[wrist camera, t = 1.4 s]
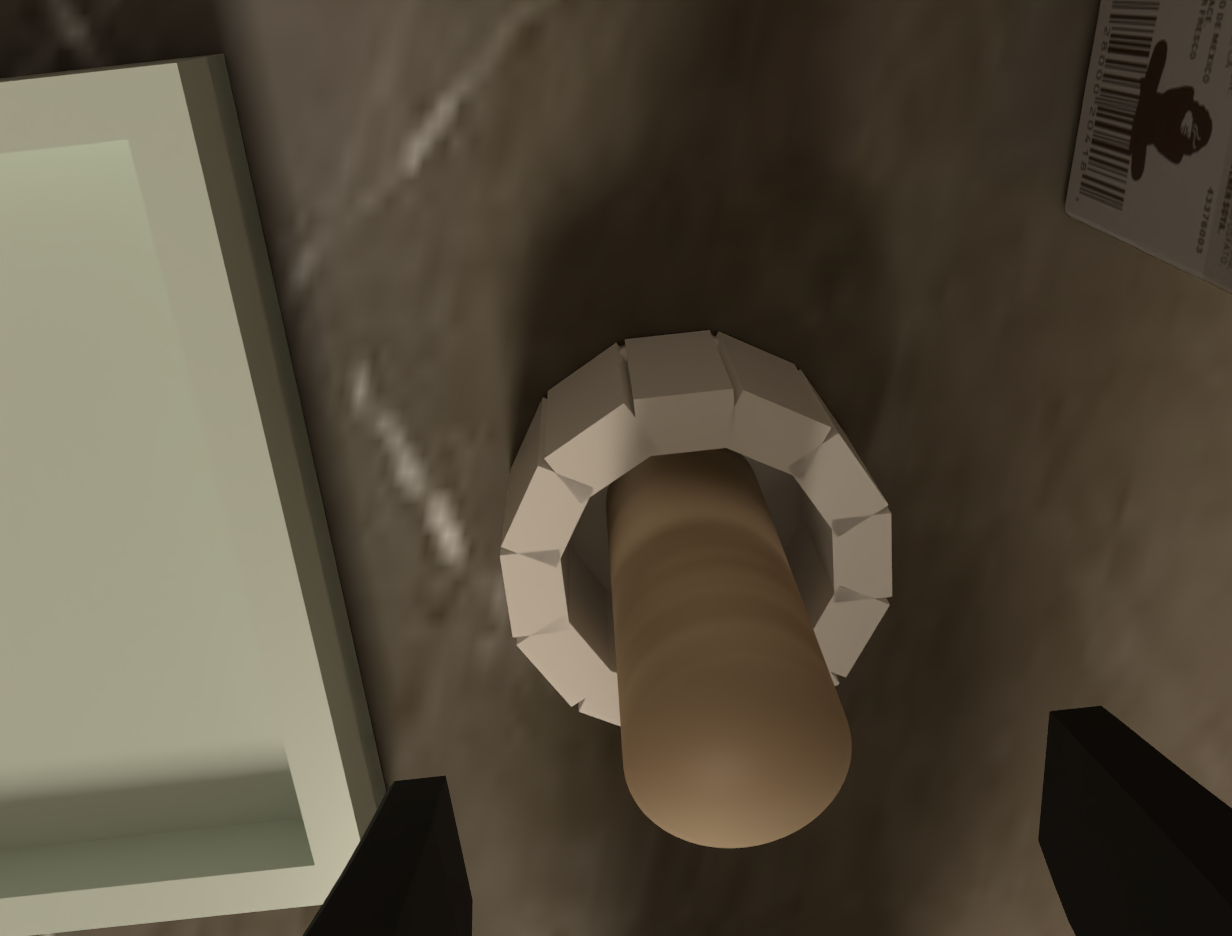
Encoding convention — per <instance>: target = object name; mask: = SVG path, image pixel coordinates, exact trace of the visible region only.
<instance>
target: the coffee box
mask: <svg viewBox="0 0 1232 936" xmlns="http://www.w3.org/2000/svg"><path fill="white" fill-rule="evenodd" d="M1065 211H1066V213H1067V215H1068V216H1069V217H1071V218H1072V219H1075V220H1078V221H1080V222H1082V223H1084V224H1086V225H1088V226H1090V227H1092V228H1094V229H1096V230H1098V231H1101V232H1104V233H1106V234H1108V235H1110V236H1112V237H1114V238H1116V239H1118V240H1120V241H1122V242H1124V243H1126V244H1128V245H1130V246H1132V247H1135V248H1137V249H1139V250H1140V251H1142V252H1144V253H1146V254H1148V255H1150V256H1152V257H1154V258H1157V259H1159V260H1161V261H1163V262H1164V263H1167V264H1169V265H1172V266H1173V267H1175V268H1177V269H1179V270H1181V271H1184V272H1186V273H1188V274H1190V275H1193V276H1195V277H1197V278H1200V279H1202V280H1204V281H1206V282H1208V283H1211V284H1213V285H1215V286H1217V287H1219V288H1220V289H1222V290H1224V291H1226V292H1228V293H1230V294H1232V0H1101V3H1100V9H1099V15H1098V20H1097V26H1096V32H1095V38H1094V43H1093V48H1092V54H1091V59H1090V64H1089V70H1088V75H1087V80H1086V86H1085V92H1084V98H1083V104H1082V110H1081V116H1080V122H1079V128H1078V133H1077V139H1076V145H1075V151H1074V156H1073V162H1072V168H1071V174H1070V180H1069V185H1068V191H1067V197H1066V203H1065Z"/></svg>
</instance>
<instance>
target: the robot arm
mask: <svg viewBox="0 0 1232 936" xmlns="http://www.w3.org/2000/svg"><path fill="white" fill-rule="evenodd" d="M1038 841H1039V843H1040V846H1041V849H1042V852H1043V854H1044V857H1045V860H1046V863H1047V866H1048V868H1049V871H1050V874H1051V877H1052V879H1053V882H1054V885H1055V888H1056V890H1057V893H1058V895H1059V898H1060V900H1061V903H1062V905H1063V908H1064V911H1065V913H1066V916H1067V918H1068V921H1069V923H1070V925H1071V927H1072V929H1073V931H1074V933H1075V935H1076V936H1232V808H1230V807H1229V806H1228V805H1226V804H1225V803H1224V802H1223V801H1221V800H1220V799H1219V798H1217V797H1216V796H1215V795H1213V794H1212V793H1211V792H1209V791H1208V790H1207V789H1206V788H1204V787H1203V786H1202V785H1200V784H1199V783H1198V782H1197V781H1195V780H1194V779H1193V778H1191V777H1190V776H1189V775H1188V774H1186V773H1185V772H1184V771H1183V770H1181V769H1180V768H1179V767H1177V766H1176V765H1175V764H1174V763H1172V762H1171V761H1170V760H1169V759H1167V758H1166V757H1165V756H1164V755H1162V754H1161V753H1160V752H1159V751H1157V750H1156V749H1155V748H1154V747H1152V746H1151V745H1150V744H1149V743H1147V742H1146V741H1145V740H1144V739H1142V738H1141V737H1140V736H1139V735H1137V734H1136V733H1135V732H1134V731H1133V730H1131V729H1130V728H1129V727H1128V726H1126V725H1125V724H1124V723H1123V722H1121V721H1120V720H1119V719H1117V718H1116V717H1115V716H1114V715H1112V714H1111V713H1110V712H1109V711H1107V710H1106V709H1105V708H1103V707H1102V706H1095V707H1086V708H1076V709H1067V710H1057V711H1050V714H1049V725H1048V736H1047V748H1046V759H1045V771H1044V782H1043V793H1042V805H1041V816H1040V828H1039V839H1038ZM303 936H472V896H471V891H470V887H469V882H468V877H467V873H466V868H465V863H464V859H463V854H462V850H461V845H460V840H459V836H458V831H457V826H456V822H455V817H454V812H453V808H452V803H451V799H450V794H449V789H448V785H447V780H446V776H439V777H429V778H420V779H411V780H401V781H395V782H394V783H393V784H392V785H391V786H390V787H389V788H388V789H387V791H386V793H385V795H384V797H383V799H382V801H381V803H380V805H379V807H378V809H377V811H376V812H375V814H374V816H373V818H372V820H371V822H370V824H369V826H368V827H367V829H366V831H365V833H364V835H363V837H362V838H361V840H360V842H359V844H358V846H357V847H356V849H355V851H354V853H353V854H352V856H351V858H350V860H349V861H348V863H347V865H346V867H345V868H344V870H343V872H342V873H341V875H340V877H339V878H338V880H337V882H336V883H335V885H334V886H333V888H332V890H331V891H330V893H329V895H328V896H327V898H326V899H325V901H324V903H323V904H322V906H321V908H320V909H319V911H318V912H317V914H316V916H315V917H314V919H313V920H312V922H311V924H310V925H309V927H308V928H307V930H306V931H305V933H304V934H303Z"/></svg>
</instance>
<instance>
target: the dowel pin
mask: <svg viewBox="0 0 1232 936" xmlns="http://www.w3.org/2000/svg"><path fill="white" fill-rule="evenodd" d="M606 514H607V529H608V544H609V559H610V574H611V589H612V604H613V619H614V634H615V650H616V665H617V680H618V695H619V710H620V725H621V740H622V755H623V769H624V774H625V779H626V783H627V785H628V788H629V791H630V793H631V795H632V797H633V798H634V800H635V802H636V804H637V805H638V806H639V808H640V809H641V810H642V811H643V813H644V814H645V815H646V816H647V817H648V818H649V819H650V820H651V821H652V822H654V823H655V824H656V825H658V826H659V827H660V828H662V829H663V830H665V831H667V832H668V833H670V834H672V835H674V836H676V837H678V838H680V839H683V840H685V841H688V842H691V843H695V844H699V845H703V846H709V847H715V848H745V847H751V846H757V845H762V844H765V843H769V842H773V841H775V840H778V839H781V838H783V837H786V836H788V835H790V834H792V833H794V832H796V831H798V830H799V829H801V828H802V827H804V826H806V825H807V824H809V823H810V822H811V821H813V820H814V819H815V818H816V817H817V816H819V815H820V814H821V813H822V812H823V811H824V810H825V809H826V808H827V807H828V805H829V804H830V803H831V802H832V801H833V799H834V798H835V796H836V795H837V794H838V792H839V790H840V788H841V787H842V785H843V783H844V781H845V778H846V775H847V773H848V770H849V766H850V761H851V754H852V740H851V732H850V728H849V725H848V721H847V718H846V715H845V713H844V710H843V707H842V705H841V702H840V699H839V697H838V694H837V691H836V689H835V686H834V683H833V681H832V678H831V675H830V673H829V670H828V667H827V665H826V662H825V659H824V657H823V654H822V651H821V649H820V646H819V643H818V641H817V638H816V635H815V633H814V630H813V627H812V625H811V622H810V619H809V617H808V614H807V611H806V609H805V606H804V603H803V601H802V598H801V595H800V593H799V590H798V587H797V585H796V582H795V579H794V577H793V574H792V571H791V569H790V566H789V563H788V561H787V558H786V555H785V553H784V550H783V547H782V545H781V542H780V539H779V537H778V534H777V531H776V529H775V526H774V523H773V521H772V518H771V515H770V513H769V510H768V507H767V505H766V502H765V499H764V497H763V494H762V491H761V489H760V486H759V483H758V481H757V478H756V476H755V473H754V471H753V469H752V467H751V466H750V464H749V463H748V461H747V460H746V459H745V457H744V456H743V455H742V454H740V453H737V452H735V451H732V450H730V449H728V448H720V449H711V450H702V451H693V452H683V453H674V454H665V455H656V456H650V457H648V458H647V459H646V460H644V461H643V462H641V463H640V464H638V465H637V466H635V467H634V468H632V469H631V470H629V471H628V472H626V473H625V474H623V475H622V476H620V477H619V478H618V479H616V480H615V481H613V482H612V483H610V484H609V487H608V491H607V498H606Z"/></svg>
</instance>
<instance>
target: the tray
mask: <svg viewBox="0 0 1232 936" xmlns="http://www.w3.org/2000/svg"><path fill="white" fill-rule="evenodd" d="M385 793H386V788H385V783H384V779H383V774H382V770H381V765H380V760H379V756H378V751H377V747H376V742H375V738H374V733H373V729H372V724H371V720H370V715H369V711H368V706H367V702H366V697H365V692H364V688H363V683H362V679H361V674H360V670H359V665H358V661H357V656H356V652H355V647H354V643H353V638H352V634H351V629H350V624H349V620H348V615H347V611H346V606H345V602H344V597H343V593H342V588H341V584H340V579H339V575H338V570H337V566H336V561H335V556H334V552H333V547H332V543H331V538H330V534H329V529H328V525H327V520H326V516H325V511H324V507H323V502H322V498H321V493H320V488H319V484H318V479H317V475H316V470H315V466H314V461H313V457H312V452H311V448H310V443H309V439H308V434H307V430H306V425H305V420H304V416H303V411H302V407H301V402H300V398H299V393H298V389H297V384H296V380H295V375H294V371H293V366H292V362H291V357H290V352H289V348H288V343H287V339H286V334H285V330H284V325H283V321H282V316H281V312H280V307H279V303H278V298H277V294H276V289H275V284H274V280H273V275H272V271H271V266H270V262H269V257H268V253H267V248H266V244H265V239H264V235H263V230H262V226H261V221H260V216H259V212H258V207H257V203H256V198H255V194H254V189H253V185H252V180H251V176H250V171H249V167H248V162H247V158H246V153H245V148H244V144H243V139H242V135H241V130H240V126H239V121H238V117H237V112H236V108H235V103H234V99H233V94H232V90H231V85H230V80H229V76H228V71H227V67H226V62H225V58H224V53H223V54H214V55H205V56H196V57H187V58H178V59H169V60H160V61H151V62H142V63H133V64H124V65H115V66H106V67H97V68H88V69H79V70H70V71H61V72H52V73H43V74H34V75H25V76H16V77H7V78H0V936H29V935H39V934H48V933H58V932H67V931H77V930H86V929H95V928H105V927H114V926H124V925H133V924H143V923H152V922H162V921H171V920H180V919H190V918H199V917H209V916H218V915H228V914H237V913H246V912H256V911H265V910H275V909H284V908H294V907H303V906H313V905H322V904H323V903H324V901H325V899H326V898H327V896H328V895H329V893H330V891H331V890H332V888H333V886H334V885H335V883H336V882H337V880H338V878H339V877H340V875H341V873H342V872H343V870H344V868H345V867H346V865H347V863H348V861H349V860H350V858H351V856H352V854H353V853H354V851H355V849H356V847H357V846H358V844H359V842H360V840H361V838H362V837H363V835H364V833H365V831H366V829H367V827H368V826H369V824H370V822H371V820H372V818H373V816H374V814H375V812H376V811H377V809H378V807H379V805H380V803H381V801H382V799H383V797H384V795H385Z"/></svg>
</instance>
